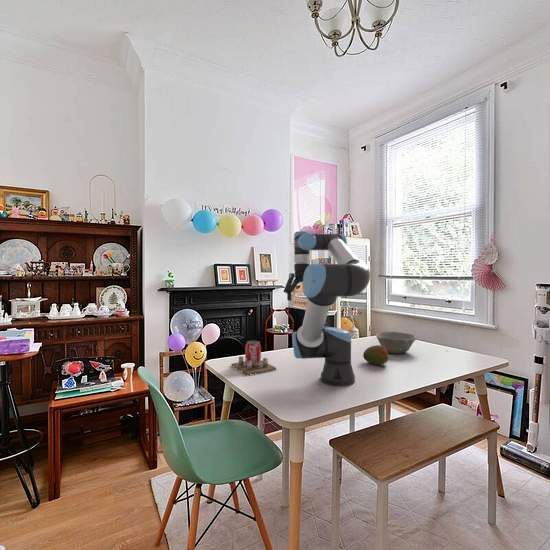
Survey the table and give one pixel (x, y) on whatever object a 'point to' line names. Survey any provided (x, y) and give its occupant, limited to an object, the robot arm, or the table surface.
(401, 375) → the table surface
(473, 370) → the table surface
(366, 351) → the fruit
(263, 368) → the peg board
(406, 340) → the ceramic bowl
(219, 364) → the table surface
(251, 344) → the beverage can
